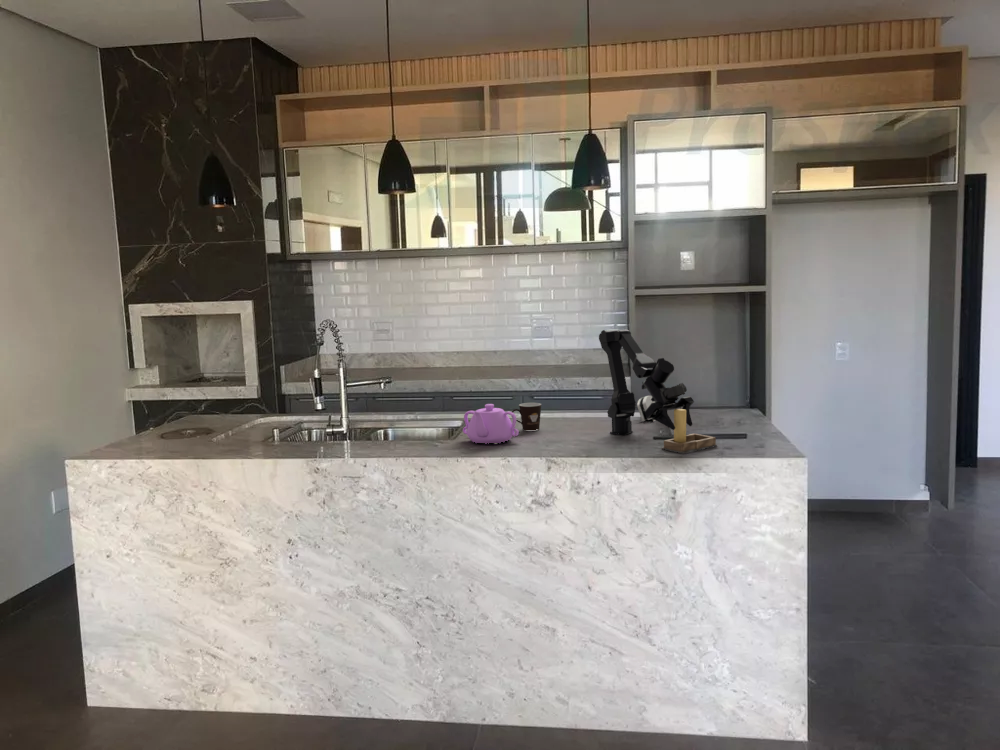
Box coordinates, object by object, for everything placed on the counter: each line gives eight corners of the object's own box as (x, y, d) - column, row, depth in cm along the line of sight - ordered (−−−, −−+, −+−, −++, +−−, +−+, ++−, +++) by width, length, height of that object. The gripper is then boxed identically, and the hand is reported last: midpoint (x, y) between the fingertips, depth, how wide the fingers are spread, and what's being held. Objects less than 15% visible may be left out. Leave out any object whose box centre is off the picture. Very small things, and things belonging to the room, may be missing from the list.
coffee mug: (542, 427, 307) (541, 402, 306) (541, 431, 299) (540, 406, 297) (513, 427, 308) (512, 403, 307) (511, 432, 300) (510, 406, 299)
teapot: (448, 448, 277) (447, 410, 276) (471, 435, 298) (470, 399, 296) (507, 450, 270) (505, 411, 268) (526, 437, 290) (525, 401, 288)
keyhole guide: (683, 453, 256) (683, 444, 255) (661, 448, 264) (661, 440, 263) (716, 446, 265) (716, 437, 264) (694, 441, 273) (694, 433, 272)
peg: (671, 447, 262) (671, 409, 261) (680, 446, 264) (680, 408, 263) (679, 450, 259) (679, 411, 257) (688, 448, 261) (688, 410, 259)
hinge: (654, 421, 310) (645, 398, 310) (643, 425, 312) (634, 401, 312) (663, 414, 325) (654, 391, 325) (652, 417, 327) (644, 395, 327)
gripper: (650, 379, 256) (676, 416, 249) (689, 373, 267) (715, 408, 259) (634, 400, 264) (658, 436, 256) (672, 393, 274) (697, 428, 267)
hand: (682, 427), depth 260 cm, fingers open, 8 cm apart
